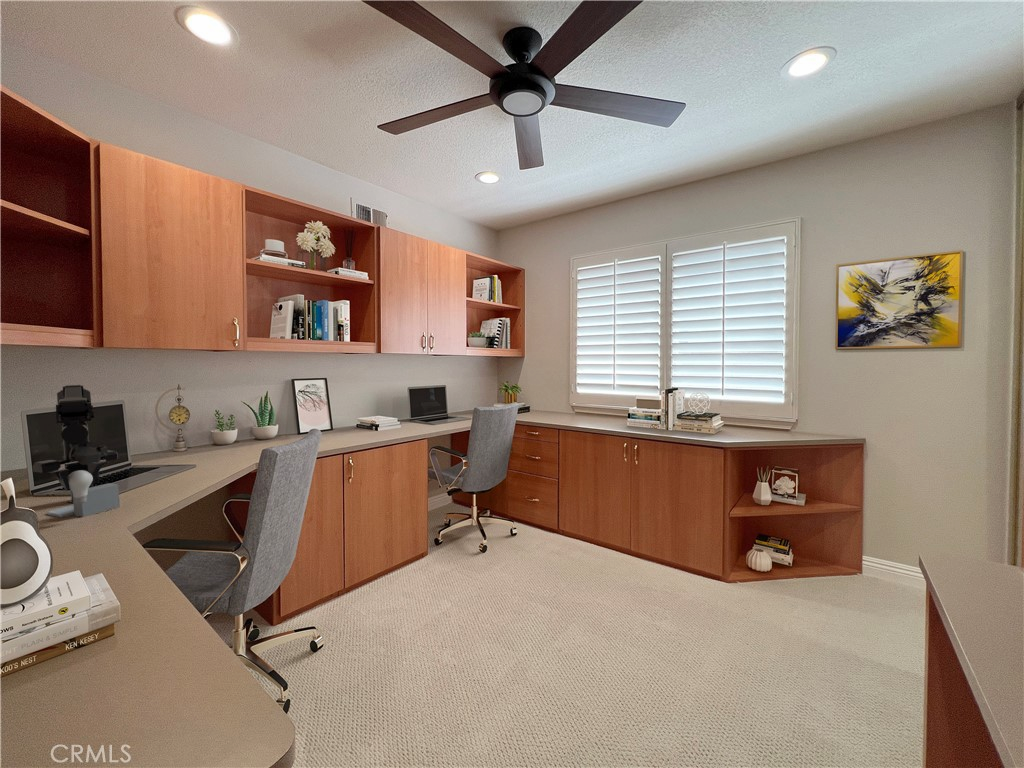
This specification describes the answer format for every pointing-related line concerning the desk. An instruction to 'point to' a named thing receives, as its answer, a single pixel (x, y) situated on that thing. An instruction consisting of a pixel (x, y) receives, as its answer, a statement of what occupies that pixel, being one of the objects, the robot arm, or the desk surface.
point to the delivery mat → (62, 511)
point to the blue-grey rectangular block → (98, 500)
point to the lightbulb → (80, 485)
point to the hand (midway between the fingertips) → (79, 487)
